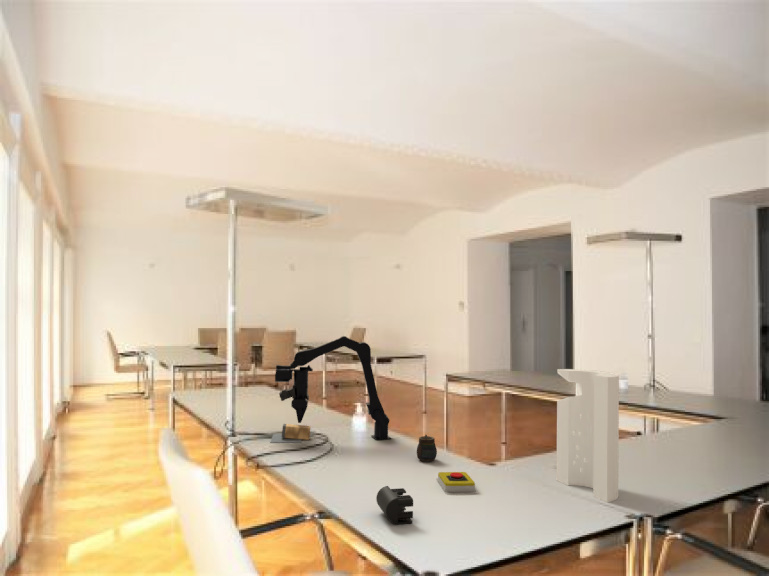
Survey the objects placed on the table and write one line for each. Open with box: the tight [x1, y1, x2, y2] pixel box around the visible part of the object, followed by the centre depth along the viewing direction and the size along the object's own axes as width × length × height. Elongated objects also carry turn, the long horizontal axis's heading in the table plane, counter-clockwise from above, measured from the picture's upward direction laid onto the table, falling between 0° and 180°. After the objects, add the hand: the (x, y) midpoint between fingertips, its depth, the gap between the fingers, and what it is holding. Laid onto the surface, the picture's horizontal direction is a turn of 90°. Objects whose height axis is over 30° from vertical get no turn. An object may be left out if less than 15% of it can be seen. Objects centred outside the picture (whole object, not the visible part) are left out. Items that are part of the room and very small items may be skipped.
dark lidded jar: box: [416, 434, 438, 463], centre depth 197 cm, size 7×8×10 cm
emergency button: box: [436, 471, 477, 496], centre depth 169 cm, size 9×4×15 cm
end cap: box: [375, 485, 414, 526], centre depth 142 cm, size 10×7×7 cm
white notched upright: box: [555, 368, 620, 503], centre depth 169 cm, size 35×11×21 cm
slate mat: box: [269, 433, 303, 444], centre depth 225 cm, size 12×14×1 cm
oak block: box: [281, 423, 312, 440], centre depth 225 cm, size 4×4×11 cm
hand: (299, 421), depth 226 cm, fingers open, 7 cm apart
